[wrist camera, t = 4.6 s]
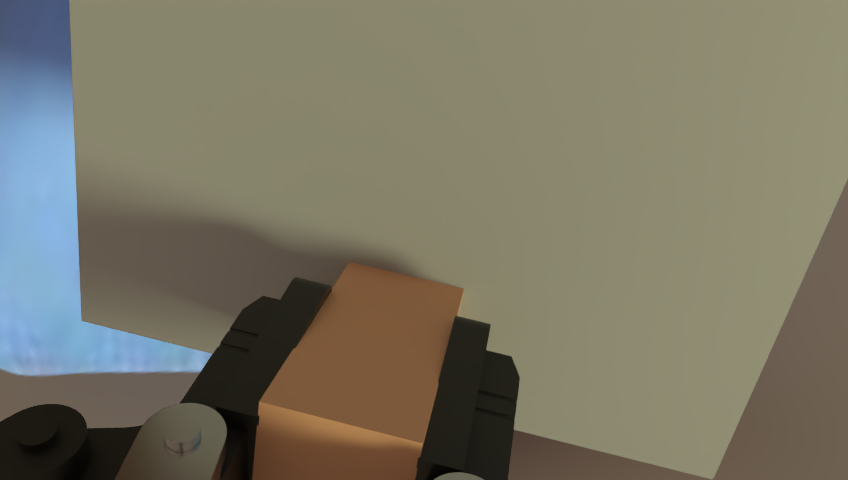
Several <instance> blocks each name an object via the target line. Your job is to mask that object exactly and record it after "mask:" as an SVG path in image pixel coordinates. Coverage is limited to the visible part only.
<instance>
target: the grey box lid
mask: <svg viewBox="0 0 848 480" xmlns="http://www.w3.org/2000/svg"><path fill="white" fill-rule="evenodd" d="M69 9H70V34H71V60H72V86H73V111H74V137H75V163H76V188H77V214H78V240H79V265H80V291H81V317H82V321H85V322H89V323H93V324H97V325H101V326H105V327H108V328H112V329H116V330H120V331H124V332H128V333H132V334H136V335H140V336H144V337H148V338H152V339H156V340H160V341H164V342H168V343H172V344H176V345H180V346H184V347H188V348H192V349H196V350H200V351H204V352H208V353H212V354H213V353H214V351H215V350H216V348H217V347H219V346H220V342H221V341H222V339H223V338H224V336H225V335H226V333H227V332H228V331H230V327H231V326H232V324H233V323H234V321H235V320H236V318H237V317H238V315H239V314H240V312H241V311H242V309H244V308H245V307H247V306H248V305H250V304H251V303H253V302H254V301H256V300H257V299H259V298H260V297H262V296H267V297H271V298H275V299H279V300H280V299H281V297H282V296H283V294H284V292H285V291H286V289H287V288H288V286H289V284H290V283H291V281H292V280H293V279H294V278H295V277H298V278H302V279H306V280H310V281H314V282H319V283H323V284H327V285H331V287H332V291H331V293H330V294H329V296H328V298H327V299H326V301H325V302H324V304H323V305H322V307H321V309H320V310H319V312H318V313H317V315H316V316H315V318H314V320H313V321H312V323H311V324H310V326H309V327H308V329H307V331H306V332H305V334H304V335H303V337H302V338H301V340H300V342H299V343H298V345H297V346H296V348H295V349H294V348H293V350H292V351H291V353H290V355H289V356H288V358H287V359H286V361H285V362H284V364H283V365H282V367H281V369H280V370H279V372H278V373H277V375H276V376H275V378H274V379H273V381H272V382H271V384H270V386H269V387H268V389H267V390H266V392H265V393H264V395H263V396H262V398H261V400H260V401H259V409H258V416H260V417H259V425H257V431H256V442H255V453H254V465H253V476H252V480H415V478H416V474H417V469H418V468H416V466H417V462H418V457H419V458H420V455H421V451H422V448H423V444H424V440H425V436H426V432H427V428H428V424H429V420H430V416H431V412H432V409H433V405H434V401H435V397H436V393H437V389H438V385H439V383H438V380H439V376H440V372H441V368H442V364H443V361H444V357H445V353H446V349H447V345H448V341H449V337H450V334H451V330H452V326H453V322H454V318H455V316H460V317H464V318H468V319H472V320H476V321H480V322H485V323H489V324H491V326H490V332H489V337H488V343H487V348H486V350H488V351H492V352H496V353H500V354H504V355H508V356H512V359H513V361H514V364H515V366H516V369H517V371H518V374H519V377H520V382H519V390H518V398H517V406H516V414H515V420H514V421H515V423H514V430H518V431H522V432H526V433H530V434H534V435H538V436H542V437H546V438H550V439H554V440H558V441H562V442H566V443H570V444H574V445H578V446H582V447H586V448H590V449H594V450H598V451H602V452H606V453H609V454H613V455H617V456H622V457H625V458H629V459H634V460H637V461H641V462H645V463H649V464H654V465H657V466H661V467H665V468H669V469H673V470H677V471H681V472H685V473H689V474H693V475H697V476H701V477H705V478H709V479H713V478H714V476H715V473H716V471H717V469H718V467H719V464H720V462H721V460H722V458H723V456H724V453H725V451H726V449H727V447H728V445H729V442H730V440H731V438H732V436H733V433H734V431H735V429H736V427H737V425H738V422H739V420H740V418H741V416H742V413H743V411H744V409H745V407H746V404H747V402H748V400H749V398H750V396H751V393H752V391H753V389H754V387H755V384H756V382H757V380H758V378H759V375H760V373H761V371H762V369H763V367H764V364H765V362H766V360H767V358H768V355H769V353H770V351H771V349H772V346H773V344H774V342H775V340H776V337H777V335H778V333H779V331H780V329H781V326H782V324H783V322H784V320H785V318H786V315H787V313H788V311H789V309H790V306H791V304H792V302H793V300H794V297H795V295H796V293H797V291H798V289H799V286H800V284H801V282H802V280H803V277H804V275H805V273H806V271H807V268H808V266H809V264H810V262H811V260H812V257H813V255H814V253H815V251H816V248H817V246H818V244H819V242H820V239H821V237H822V235H823V233H824V231H825V228H826V226H827V224H828V222H829V219H830V217H831V215H832V213H833V210H834V208H835V206H836V204H837V202H838V199H839V197H840V195H841V193H842V190H843V188H844V186H845V184H846V181H847V179H848V0H69Z"/></svg>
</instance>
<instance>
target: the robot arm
mask: <svg viewBox="0 0 848 480" xmlns="http://www.w3.org/2000/svg"><path fill="white" fill-rule="evenodd" d="M331 291H332V287H331V285H327V284H323V283H319V282H314V281H310V280H306V279H302V278H298V277H295V278H294V279H293V280H292V281H291V283H290V284H289V286H288V288H287V289H286V291H285V292H284V294H283V296H282V297H281V299H280V300H279V299H275V298H271V297H267V296H262V297H260V298H259V299H257V300H256V301H254V302H253V303H251V304H250V305H248V306H247V307H245V308H244V309H242V311H241V312H240V314H239V315H238V317H237V318H236V320H235V321H234V323H233V324H232V326H231V327H230V331H228V332H227V333H226V335H225V336H224V338H223V339H222V341H221V342H220V346H219V347H217V348H216V350H215V351H214V353H213V354H212V356H211V357H210V359H209V360H208V362H207V363H206V365H205V366H204V368H203V369H202V371H201V372H200V374H199V375H198V377H197V378H196V380H195V382H194V383H193V384H192V386H191V387H190V389H189V391H188V392H187V393H186V395H185V396H184V398H183V399H182V401H181V402H180V404H175V405H172V406H168V407H166V408H164V409H162V410H160V411H158V412H156V413H155V414H153V415H152V416H151V417H150V418H148V420H147V421H146V422H145V423H144V424H143V425H141V426H136V427H127V428H90V429H89V428H88V429H87V425H86V422H85V420H84V418H83V416H82V415H81V414H80V413H79V412H78V411H76V410H75V409H73V408H71V407H68V406H64V405H59V404H45V405H38V406H34V407H30V408H27V409H25V410H22V411H20V412H18V413H16V414H14V415H12V416H10V417H8V418H6V419H5V420H3V421H1V422H0V480H252V476H253V465H254V453H255V442H256V431H257V425H259V417H260V416H258V409H259V401H260V400H261V398H262V396H263V395H264V393H265V392H266V390H267V389H268V387H269V386H270V384H271V382H272V381H273V379H274V378H275V376H276V375H277V373H278V372H279V370H280V369H281V367H282V365H283V364H284V362H285V361H286V359H287V358H288V356H289V355H290V353H291V351H292V350H293V348H294V349H295V348H296V346H297V345H298V343H299V342H300V340H301V338H302V337H303V335H304V334H305V332H306V331H307V329H308V327H309V326H310V324H311V323H312V321H313V320H314V318H315V316H316V315H317V313H318V312H319V310H320V309H321V307H322V305H323V304H324V302H325V301H326V299H327V298H328V296H329V294H330V293H331ZM490 326H491V324H489V323H485V322H480V321H476V320H472V319H468V318H464V317H460V316H455V318H454V322H453V326H452V330H451V334H450V337H449V341H448V345H447V349H446V353H445V357H444V361H443V364H442V368H441V372H440V376H439V380H438V383H439V385H438V389H437V393H436V397H435V401H434V405H433V409H432V412H431V416H430V420H429V424H428V428H427V432H426V436H425V440H424V444H423V448H422V451H421V455H420V458H419V457H418V462H417V466H416V468H418V469H417V474H416V478H415V480H508V471H509V463H510V455H511V447H512V439H513V431H514V423H515V421H514V420H515V414H516V406H517V398H518V390H519V382H520V377H519V374H518V371H517V369H516V366H515V364H514V361H513V359H512V356H508V355H504V354H500V353H496V352H492V351H488V350H486V348H487V343H488V337H489V332H490Z"/></svg>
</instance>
